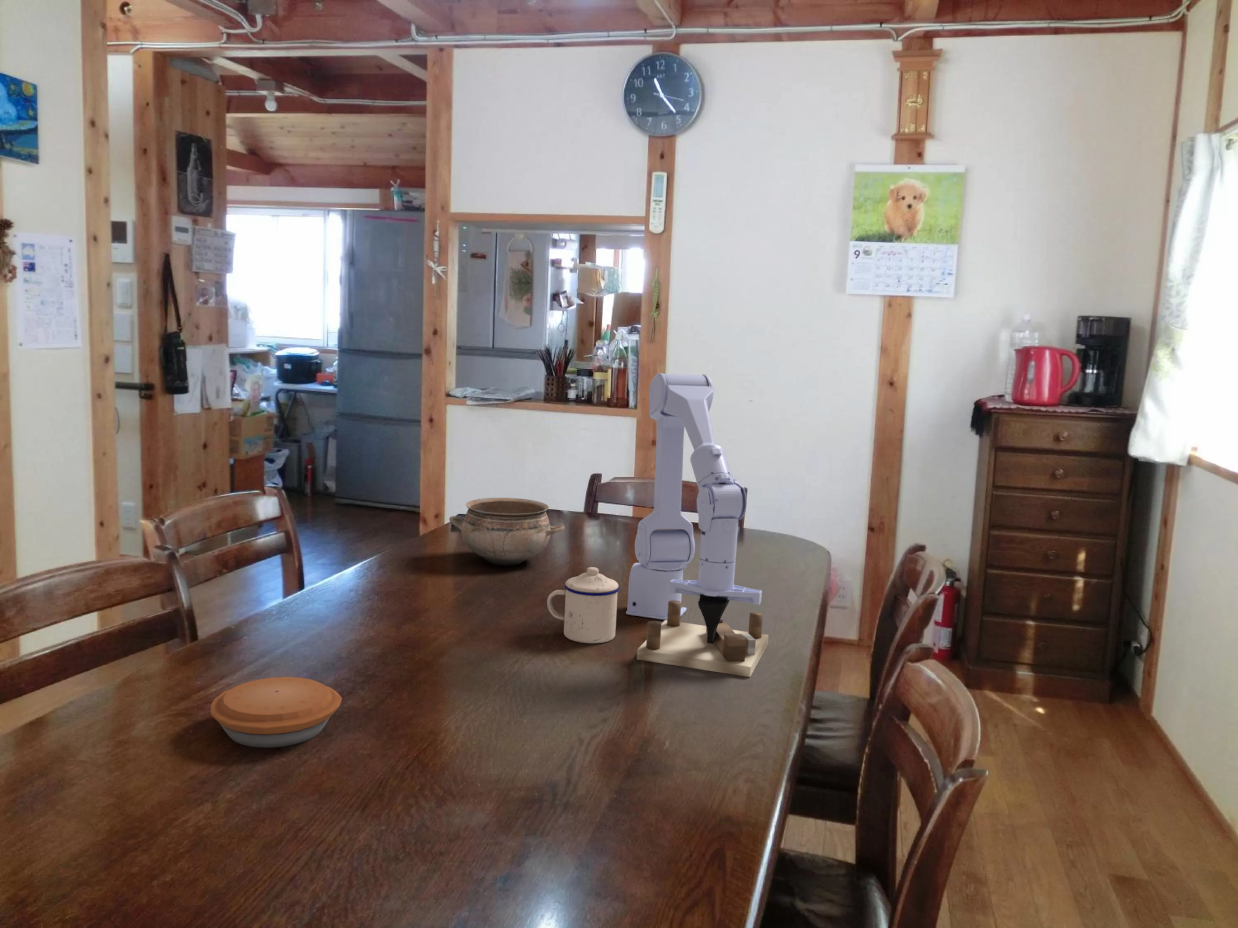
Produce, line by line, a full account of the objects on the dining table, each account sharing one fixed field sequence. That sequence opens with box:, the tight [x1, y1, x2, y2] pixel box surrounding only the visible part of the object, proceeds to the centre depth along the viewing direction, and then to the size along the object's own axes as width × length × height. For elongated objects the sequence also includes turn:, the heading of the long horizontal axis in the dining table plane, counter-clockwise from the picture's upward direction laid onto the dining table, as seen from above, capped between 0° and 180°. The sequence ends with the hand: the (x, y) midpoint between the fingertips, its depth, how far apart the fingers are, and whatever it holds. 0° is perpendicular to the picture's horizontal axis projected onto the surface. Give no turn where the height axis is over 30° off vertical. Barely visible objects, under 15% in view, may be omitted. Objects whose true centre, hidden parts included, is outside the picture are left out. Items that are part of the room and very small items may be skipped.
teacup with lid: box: [546, 566, 620, 644], centre depth 168 cm, size 12×9×12 cm
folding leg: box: [706, 616, 746, 661], centre depth 161 cm, size 14×3×4 cm, turn 9°
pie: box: [210, 676, 343, 749], centre depth 126 cm, size 15×16×5 cm
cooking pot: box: [449, 497, 566, 567], centre depth 214 cm, size 25×19×12 cm
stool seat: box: [636, 600, 770, 678], centre depth 163 cm, size 18×17×6 cm
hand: (711, 641), depth 161 cm, fingers closed, pressing on folding leg
